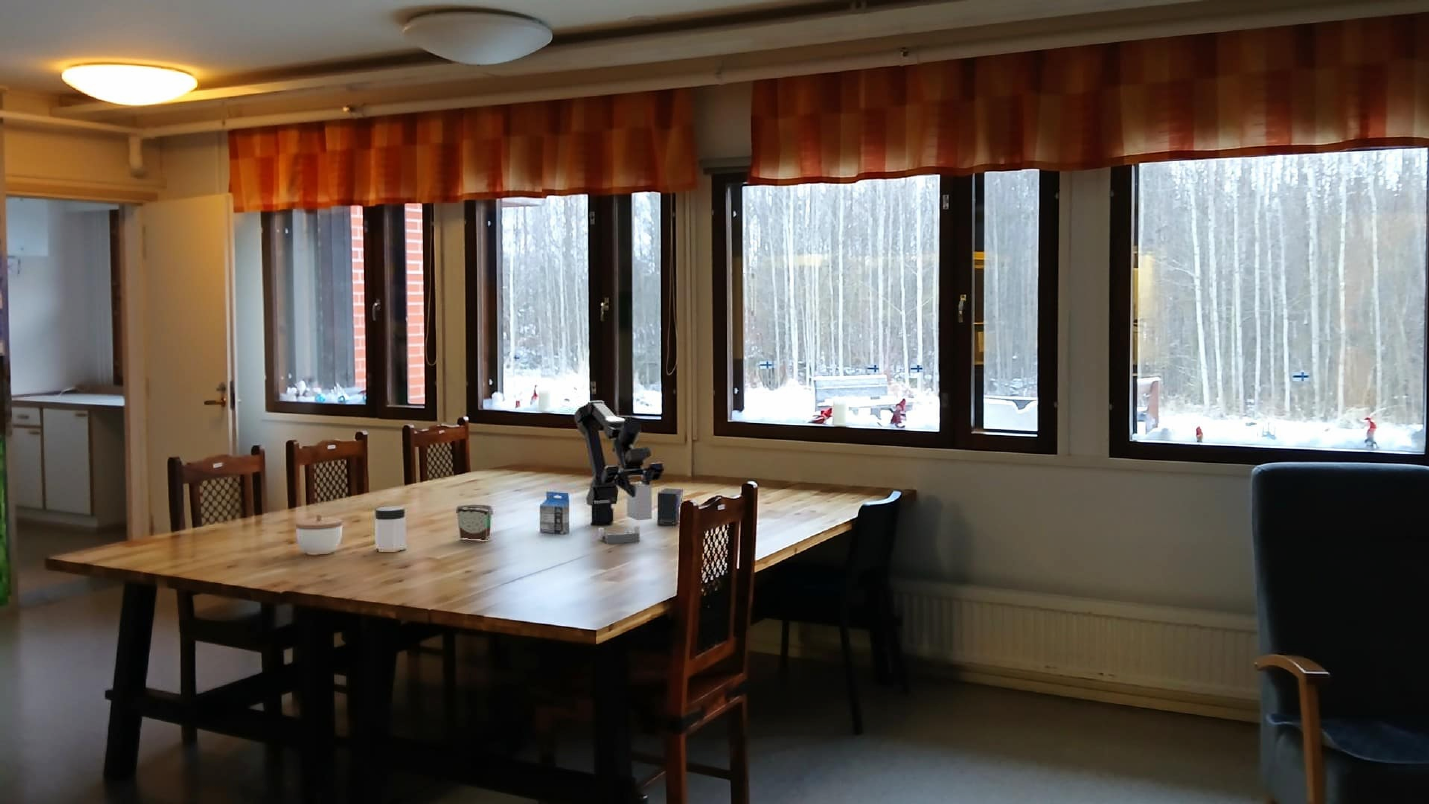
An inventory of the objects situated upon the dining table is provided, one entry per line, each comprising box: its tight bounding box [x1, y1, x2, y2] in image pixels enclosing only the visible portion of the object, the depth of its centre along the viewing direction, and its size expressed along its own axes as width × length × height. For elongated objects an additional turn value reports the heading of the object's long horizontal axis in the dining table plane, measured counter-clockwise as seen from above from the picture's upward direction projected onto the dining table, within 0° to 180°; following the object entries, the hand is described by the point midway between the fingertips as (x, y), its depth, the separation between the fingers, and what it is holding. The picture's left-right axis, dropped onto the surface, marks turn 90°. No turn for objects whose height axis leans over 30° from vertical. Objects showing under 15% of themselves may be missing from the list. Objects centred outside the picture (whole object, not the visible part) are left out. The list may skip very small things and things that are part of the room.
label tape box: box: [539, 491, 570, 535], centre depth 368 cm, size 9×4×12 cm, turn 62°
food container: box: [455, 504, 494, 540], centre depth 357 cm, size 12×6×10 cm, turn 65°
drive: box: [626, 481, 653, 521], centre depth 355 cm, size 8×4×10 cm, turn 27°
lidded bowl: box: [295, 513, 344, 553], centre depth 338 cm, size 13×13×11 cm
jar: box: [374, 505, 407, 549], centre depth 341 cm, size 9×8×12 cm
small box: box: [656, 487, 684, 526], centre depth 383 cm, size 11×6×10 cm, turn 168°
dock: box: [597, 525, 641, 545], centre depth 356 cm, size 11×13×4 cm
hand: (640, 495), depth 354 cm, fingers closed on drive, 4 cm apart
